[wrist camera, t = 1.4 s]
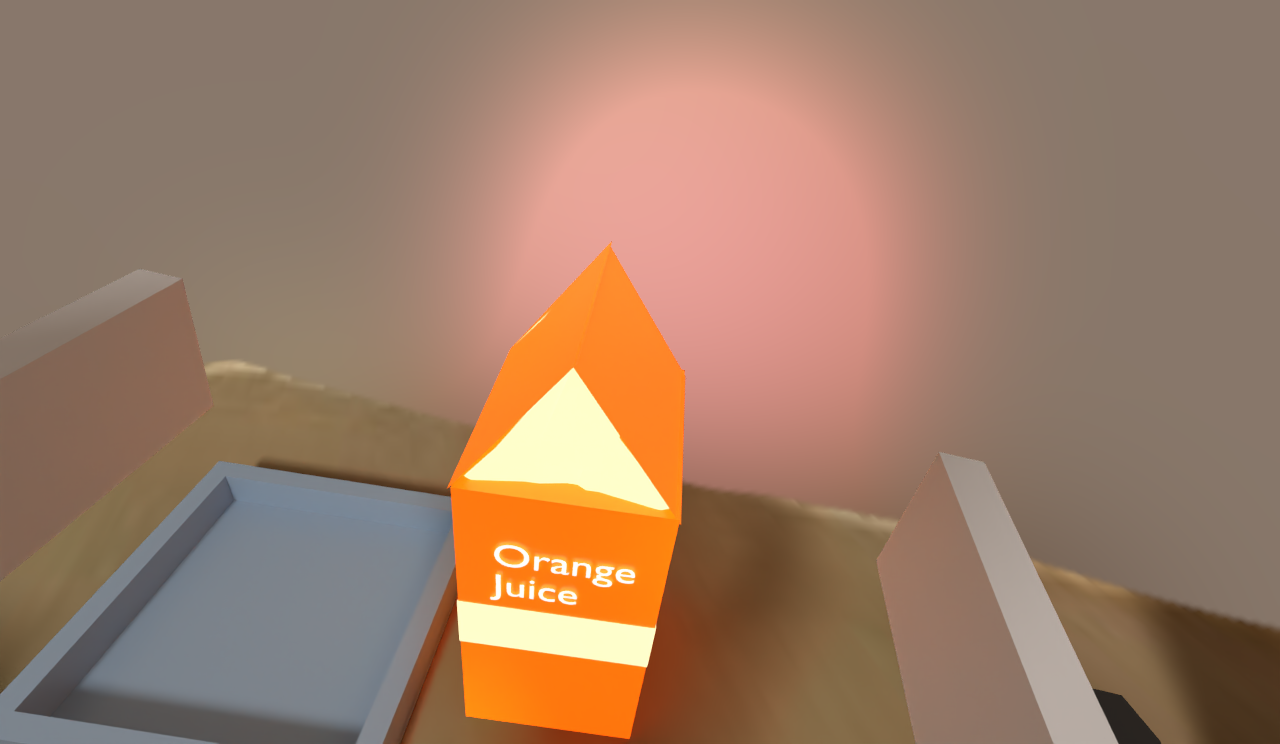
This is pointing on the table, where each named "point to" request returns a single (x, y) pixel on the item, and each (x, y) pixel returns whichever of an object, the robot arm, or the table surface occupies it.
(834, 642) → the table surface
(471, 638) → the orange juice
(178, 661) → the dish
